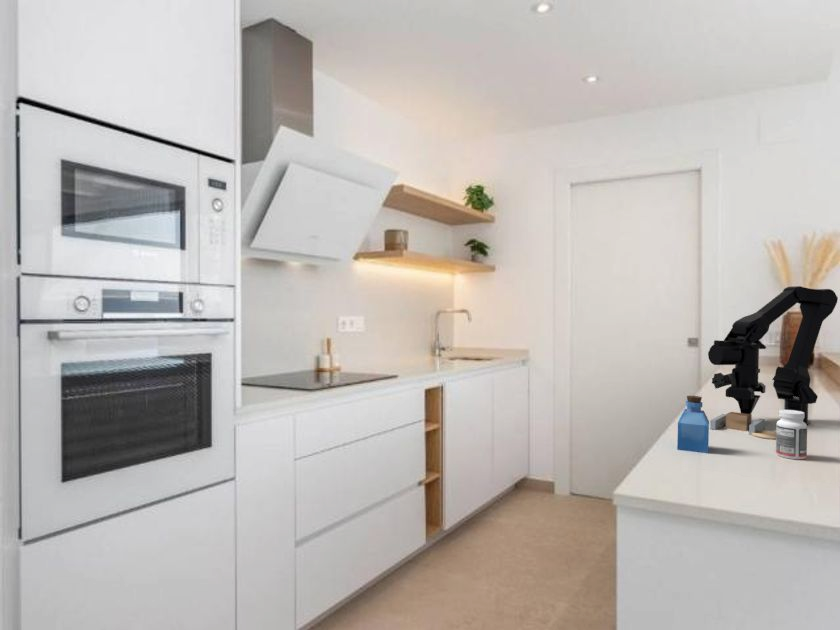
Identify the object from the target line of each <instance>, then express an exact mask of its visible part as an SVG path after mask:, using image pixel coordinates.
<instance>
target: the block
mask: <svg viewBox="0 0 840 630" xmlns="http://www.w3.org/2000/svg"><path fill="white" fill-rule="evenodd" d="M725 414H726V424H725V429H727V430H736V431H743V432H747V431H748V432H749V425H750V424H752V418H753V416H752V413H751V414H745V413H741V412H738V411H737V412H735V411H730V412H728V413H725Z"/></svg>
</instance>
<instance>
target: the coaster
mask: <svg viewBox="0 0 840 630" xmlns="http://www.w3.org/2000/svg"><path fill="white" fill-rule="evenodd" d="M750 436H753V437H756V438H761V439H766V440H775V441H776V431H773V430H765V429H763V430H758V431H757V432H755V433H751V435H750Z"/></svg>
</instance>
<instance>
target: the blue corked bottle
mask: <svg viewBox="0 0 840 630" xmlns="http://www.w3.org/2000/svg"><path fill="white" fill-rule="evenodd" d="M702 398H703V397H702V396H700V395H687V396H686V401H685V406H686V408H684V410H683V412H682V413H681V415H680V417H679V419H678V422H677V441H676V442H677V443H676V444H677V448H676V450H677V451H683V452H684V451H686V452H693V453H694V452H695V453H700V454H708V453H709V441H710V439H709V436H710V421H709V419H708V416H707V414H706V413H705V410H702V408H703V402H702Z"/></svg>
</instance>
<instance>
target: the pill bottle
mask: <svg viewBox="0 0 840 630" xmlns="http://www.w3.org/2000/svg"><path fill="white" fill-rule="evenodd" d="M804 414H805V413H804V412H801V411H795V410H784V409H780V410H779V412H778V415H779V417H780V419H778V420H777V422H776V431H775V432H776V440H775V454H776V455H777V456H779V458H784V459H790V460H805V459H806V458H807V456H808V455H807V454H808V449H807V448H808V425H806V423H804V422H803V419H804V418H805V415H804Z"/></svg>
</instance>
